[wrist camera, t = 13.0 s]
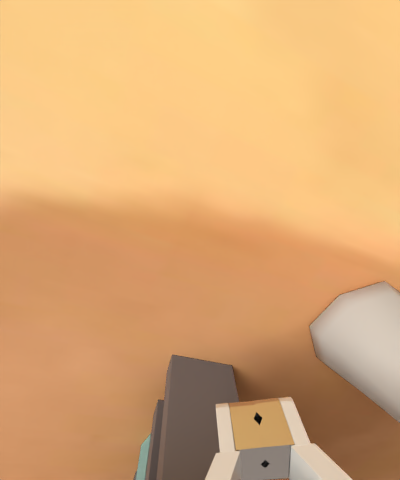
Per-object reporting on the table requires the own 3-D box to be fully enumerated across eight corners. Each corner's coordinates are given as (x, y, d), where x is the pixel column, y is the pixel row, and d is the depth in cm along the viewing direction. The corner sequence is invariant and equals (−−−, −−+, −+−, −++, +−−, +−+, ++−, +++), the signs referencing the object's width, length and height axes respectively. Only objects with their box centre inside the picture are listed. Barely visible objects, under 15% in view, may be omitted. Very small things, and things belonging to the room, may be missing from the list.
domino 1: (208, 422, 20) (219, 590, 12) (153, 414, 19) (131, 585, 12) (213, 408, 19) (229, 575, 12) (158, 399, 19) (137, 569, 11)
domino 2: (225, 381, 18) (250, 544, 11) (166, 371, 18) (150, 536, 10) (231, 365, 18) (263, 524, 10) (172, 354, 17) (159, 515, 10)
